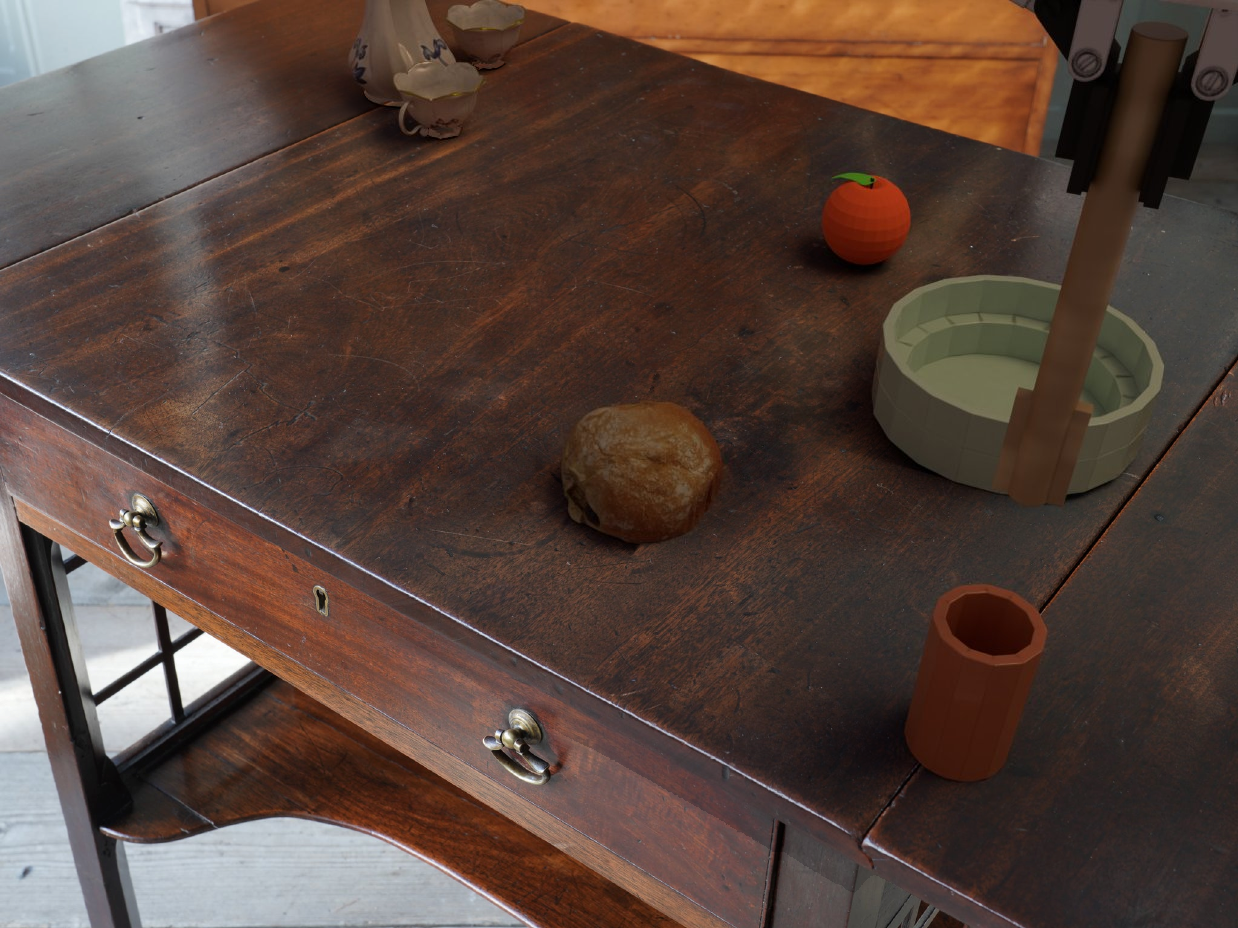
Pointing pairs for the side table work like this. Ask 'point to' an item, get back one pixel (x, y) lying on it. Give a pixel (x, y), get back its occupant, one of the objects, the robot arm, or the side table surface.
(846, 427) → the side table surface
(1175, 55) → the stick
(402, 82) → the chinaware
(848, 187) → the clementine
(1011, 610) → the holder
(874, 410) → the bowl
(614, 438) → the bread roll
